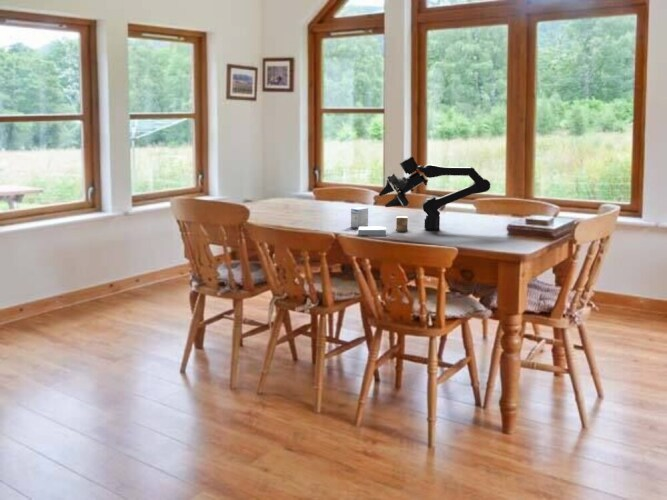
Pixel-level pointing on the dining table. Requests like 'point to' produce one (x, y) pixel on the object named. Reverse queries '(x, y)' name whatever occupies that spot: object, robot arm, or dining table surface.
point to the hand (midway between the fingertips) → (382, 200)
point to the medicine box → (359, 217)
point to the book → (372, 231)
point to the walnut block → (401, 223)
